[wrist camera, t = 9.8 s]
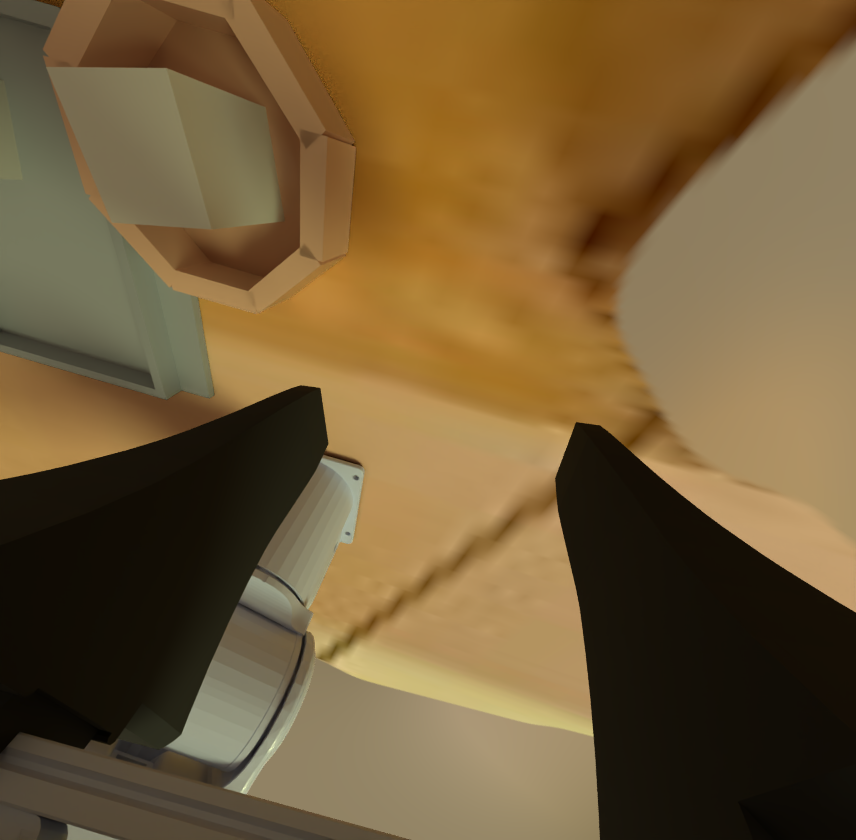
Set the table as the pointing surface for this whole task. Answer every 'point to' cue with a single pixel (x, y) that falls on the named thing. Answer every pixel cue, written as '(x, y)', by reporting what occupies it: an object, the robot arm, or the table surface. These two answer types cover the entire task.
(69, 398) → the table surface
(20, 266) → the parts tray
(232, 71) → the bowl
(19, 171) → the beige square block
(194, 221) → the sage green cube
